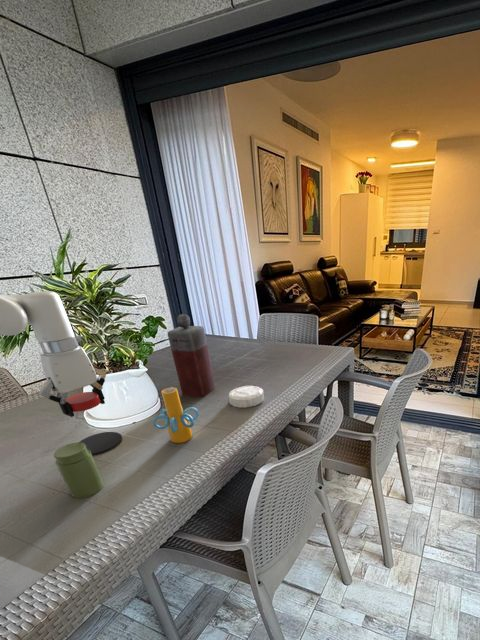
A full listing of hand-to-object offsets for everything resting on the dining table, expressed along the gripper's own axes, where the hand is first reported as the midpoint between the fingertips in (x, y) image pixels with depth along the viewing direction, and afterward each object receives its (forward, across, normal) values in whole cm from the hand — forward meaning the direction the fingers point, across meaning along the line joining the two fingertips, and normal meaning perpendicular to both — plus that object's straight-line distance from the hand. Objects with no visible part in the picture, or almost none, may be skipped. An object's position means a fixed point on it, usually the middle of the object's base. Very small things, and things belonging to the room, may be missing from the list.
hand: (85, 408), depth 95 cm
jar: (+11, +13, +18) cm, 25 cm away
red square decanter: (+12, -40, -4) cm, 42 cm away
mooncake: (+12, -42, +19) cm, 47 cm away
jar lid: (-3, 0, 0) cm, 3 cm away
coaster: (+11, 0, 0) cm, 11 cm away
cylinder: (+12, -13, +19) cm, 26 cm away
